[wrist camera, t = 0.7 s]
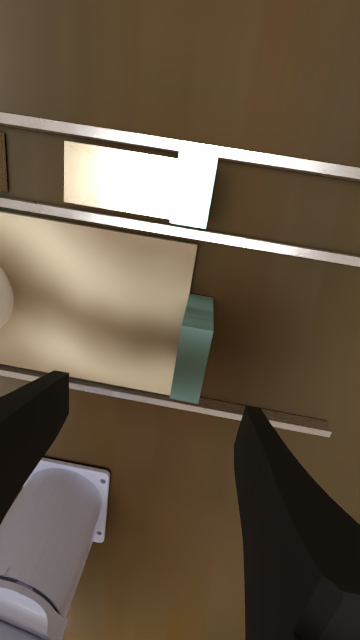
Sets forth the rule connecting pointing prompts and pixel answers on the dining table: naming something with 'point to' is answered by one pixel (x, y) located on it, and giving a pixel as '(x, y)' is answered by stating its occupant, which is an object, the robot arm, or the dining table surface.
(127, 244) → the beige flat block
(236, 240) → the lane rails
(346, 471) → the dining table surface
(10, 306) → the cup
